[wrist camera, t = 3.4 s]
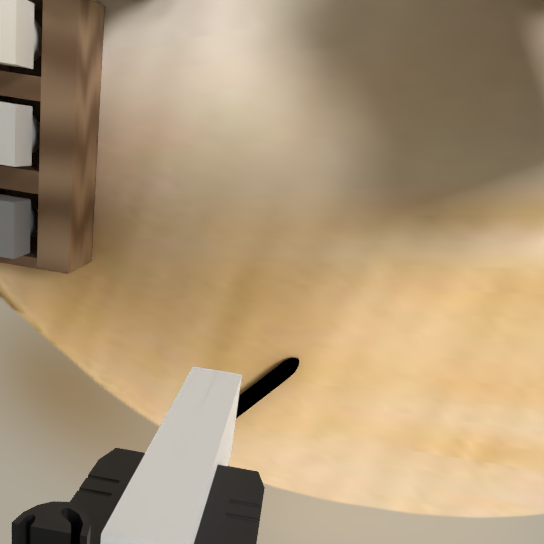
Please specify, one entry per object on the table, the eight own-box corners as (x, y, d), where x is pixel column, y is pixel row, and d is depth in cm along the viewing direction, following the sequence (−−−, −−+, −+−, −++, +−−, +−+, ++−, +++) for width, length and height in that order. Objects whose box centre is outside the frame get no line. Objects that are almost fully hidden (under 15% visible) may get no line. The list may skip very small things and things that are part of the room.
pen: (199, 424, 55) (195, 433, 53) (293, 351, 52) (293, 357, 50) (208, 434, 55) (205, 443, 53) (303, 361, 52) (303, 368, 50)
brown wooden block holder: (-23, -12, 45) (-63, -30, 40) (104, 7, 44) (79, -10, 40) (-20, 242, 51) (-55, 252, 46) (91, 261, 51) (67, 273, 46)
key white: (-6, 3, 42) (-47, -15, 38) (50, 11, 42) (16, -6, 37) (-6, 64, 44) (-45, 55, 39) (49, 73, 43) (15, 64, 39)
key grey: (-6, 100, 44) (-45, 94, 40) (47, 108, 44) (15, 104, 39) (-6, 155, 46) (-43, 157, 41) (46, 164, 46) (14, 166, 41)
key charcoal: (-6, 188, 47) (-43, 193, 42) (45, 196, 46) (14, 202, 42) (-5, 239, 48) (-41, 249, 43) (44, 247, 48) (13, 259, 43)
